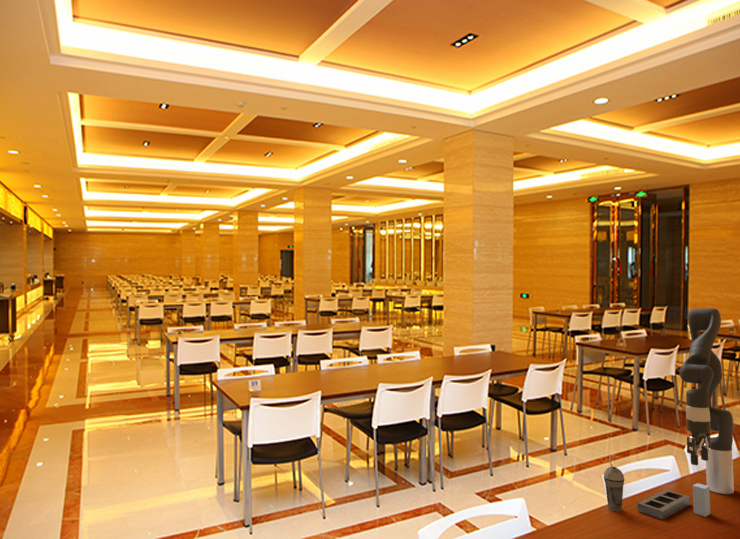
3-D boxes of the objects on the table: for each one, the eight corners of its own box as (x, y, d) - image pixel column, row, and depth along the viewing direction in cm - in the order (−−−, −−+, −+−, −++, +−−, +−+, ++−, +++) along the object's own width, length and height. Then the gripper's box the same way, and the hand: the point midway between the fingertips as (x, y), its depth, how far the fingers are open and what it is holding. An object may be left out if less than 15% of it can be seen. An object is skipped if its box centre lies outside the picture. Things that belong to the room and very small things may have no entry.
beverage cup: (628, 514, 188) (626, 459, 189) (607, 512, 189) (605, 458, 190) (622, 505, 195) (620, 453, 196) (602, 504, 196) (600, 452, 197)
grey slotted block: (665, 497, 203) (665, 489, 203) (690, 504, 195) (690, 496, 195) (637, 511, 190) (637, 503, 190) (662, 519, 183) (662, 511, 183)
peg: (698, 510, 190) (697, 483, 191) (710, 513, 187) (709, 486, 188) (693, 512, 188) (692, 485, 189) (705, 516, 185) (704, 488, 185)
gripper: (695, 413, 196) (697, 456, 196) (678, 419, 188) (680, 463, 187) (717, 417, 190) (719, 461, 190) (700, 423, 182) (702, 469, 181)
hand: (699, 462), depth 188 cm, fingers open, 8 cm apart
